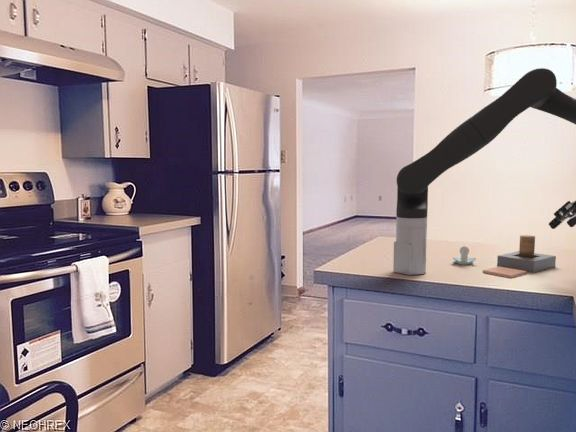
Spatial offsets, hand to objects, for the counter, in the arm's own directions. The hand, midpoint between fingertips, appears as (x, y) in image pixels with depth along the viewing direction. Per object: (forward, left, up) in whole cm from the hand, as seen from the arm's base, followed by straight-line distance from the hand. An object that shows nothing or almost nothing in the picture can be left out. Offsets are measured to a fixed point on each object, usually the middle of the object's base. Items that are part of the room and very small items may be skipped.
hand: (560, 225), depth 148 cm
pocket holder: (+2, +11, -15) cm, 18 cm away
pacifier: (-10, +26, -15) cm, 32 cm away
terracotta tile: (-13, +10, -15) cm, 22 cm away
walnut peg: (+2, +11, -15) cm, 18 cm away
